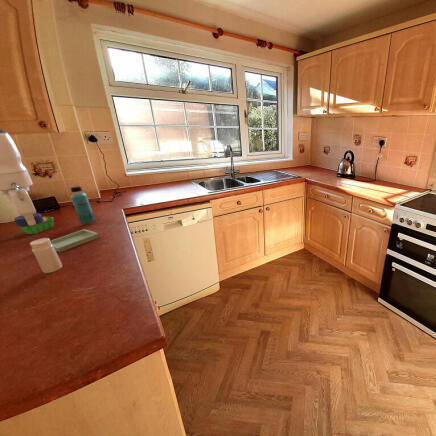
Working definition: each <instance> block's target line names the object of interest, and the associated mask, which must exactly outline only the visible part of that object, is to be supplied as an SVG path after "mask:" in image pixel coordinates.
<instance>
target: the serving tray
mask: <svg viewBox="0 0 436 436" xmlns="http://www.w3.org/2000/svg"><path fill="white" fill-rule="evenodd" d="M99 238H100V234H99V233H98V232H95V231H92V230H89V229H85V228H84V229H81V230H78V231H75V232H72V233H69V234H66V235H64V236H60V237H57V238H54V239H52V240H51V239H50V242H51V244H53V246H54V248H55V250H56V252H58V253H62V252H65V251H68V250H70V249H73V248H75V247H77V246H80V245H83V244H86V243H89V242H91V241H94V240H96V239H99Z"/></svg>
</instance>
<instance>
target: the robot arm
mask: <svg viewBox="0 0 436 436" xmlns="http://www.w3.org/2000/svg"><path fill="white" fill-rule="evenodd" d="M32 185H34V183H33V180H32V178H31V176H30V173H29V171H28V169H27V168H26V167H25V165H24V164H23V162H22V155H21V153H20V151H19V149H18V146H17V145H16V143H15V141H14V140H13V137H11V135H10V134H9V133H8V132H7V131H5V130H3V129H2V128H0V194H1V195H4V196H5V197H6V198H7V199H8V201H9V202H10V204H12V206H13V208H14V209H15V210H16V211H17V213H18V214H19V216H24V218H25V219H26V221H27V223H28V225H30V226H31V225H35V224H36V222H35V220H34V216H33V214H34V213H37V209H36V208H35V206H34V203H33V201H32V199H31V197H30V195H29V193H28V192H29V191H30V186H32Z"/></svg>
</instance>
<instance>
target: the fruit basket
mask: <svg viewBox="0 0 436 436" xmlns="http://www.w3.org/2000/svg"><path fill="white" fill-rule="evenodd" d="M42 218H43V220H44V221H43V222H42V223H40V224H37V225H33V226H27V227H19V229H20V230H21V231H23V233H25V234H26V235H37V234H38V233H42V232H45V231H48V230H49V229H53V228H54V217H53V216H42Z"/></svg>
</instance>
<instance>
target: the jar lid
mask: <svg viewBox="0 0 436 436" xmlns="http://www.w3.org/2000/svg"><path fill="white" fill-rule="evenodd" d="M33 216H34V220H35V222H36V224H35V225H37V224H40V223H42V222H43V221H44V220H43V218H42V217H43V215H42V214H41V213H40V212H36V213H34V214H33ZM13 219H14V222H15V225H16V226H17V227H18V228H20V227H27V226H30V225H28V223H27V221H26V219H25V218H24V216H21V215H18V216H16V217H14V218H13ZM31 226H33V225H31Z"/></svg>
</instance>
